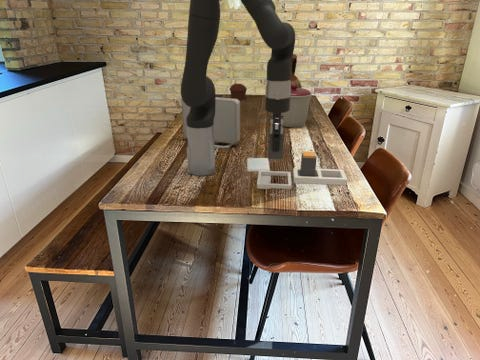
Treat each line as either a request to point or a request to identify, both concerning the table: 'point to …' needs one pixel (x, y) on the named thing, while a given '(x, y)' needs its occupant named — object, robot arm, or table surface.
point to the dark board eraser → (279, 154)
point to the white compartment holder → (321, 177)
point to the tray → (265, 180)
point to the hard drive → (257, 164)
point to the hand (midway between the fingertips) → (275, 148)
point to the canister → (297, 107)
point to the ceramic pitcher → (293, 66)
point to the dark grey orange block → (308, 164)
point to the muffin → (238, 91)
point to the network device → (221, 121)
